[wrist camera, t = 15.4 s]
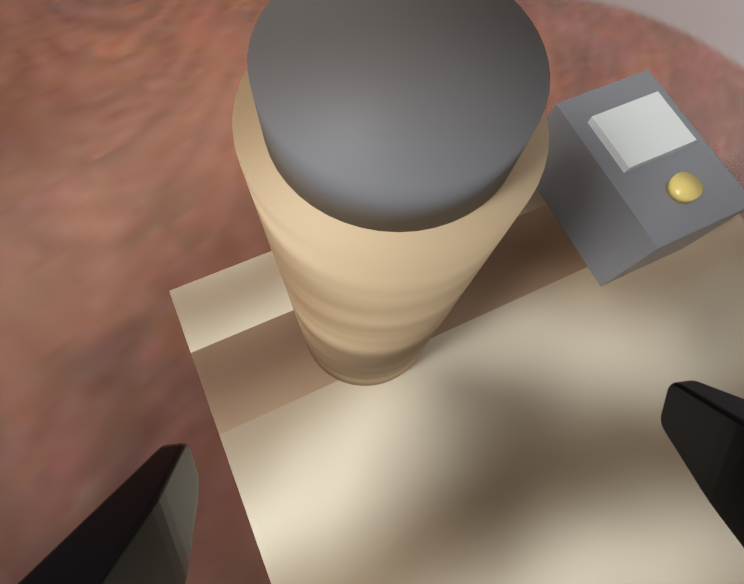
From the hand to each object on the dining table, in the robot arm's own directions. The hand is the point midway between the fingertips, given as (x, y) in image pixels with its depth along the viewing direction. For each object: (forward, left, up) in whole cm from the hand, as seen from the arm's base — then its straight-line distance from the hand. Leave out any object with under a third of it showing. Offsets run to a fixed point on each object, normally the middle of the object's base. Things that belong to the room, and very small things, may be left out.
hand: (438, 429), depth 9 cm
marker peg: (+4, -1, -7) cm, 9 cm away
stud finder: (+5, -12, -7) cm, 14 cm away
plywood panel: (-1, -6, -8) cm, 10 cm away
